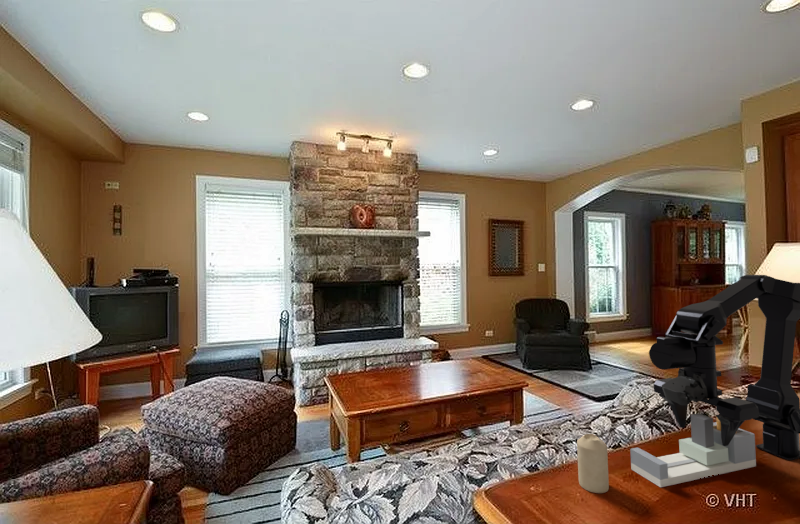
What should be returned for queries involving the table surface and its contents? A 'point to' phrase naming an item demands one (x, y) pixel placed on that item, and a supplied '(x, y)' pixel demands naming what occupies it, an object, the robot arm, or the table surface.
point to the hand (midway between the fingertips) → (702, 436)
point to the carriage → (703, 442)
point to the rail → (694, 461)
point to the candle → (592, 464)
